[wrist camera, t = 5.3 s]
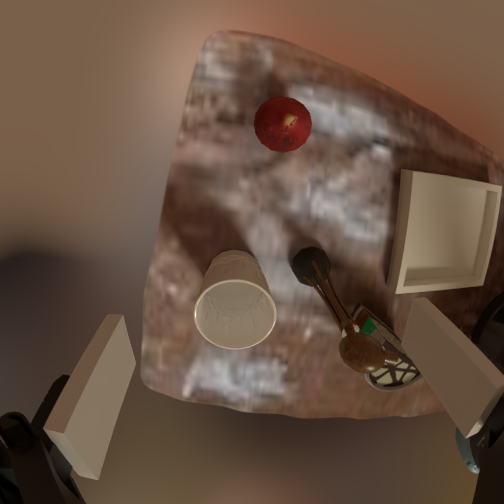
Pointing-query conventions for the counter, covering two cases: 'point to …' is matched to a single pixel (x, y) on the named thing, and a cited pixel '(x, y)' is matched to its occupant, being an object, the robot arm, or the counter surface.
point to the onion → (282, 124)
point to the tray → (442, 232)
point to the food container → (388, 375)
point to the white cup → (234, 302)
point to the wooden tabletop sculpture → (341, 315)
